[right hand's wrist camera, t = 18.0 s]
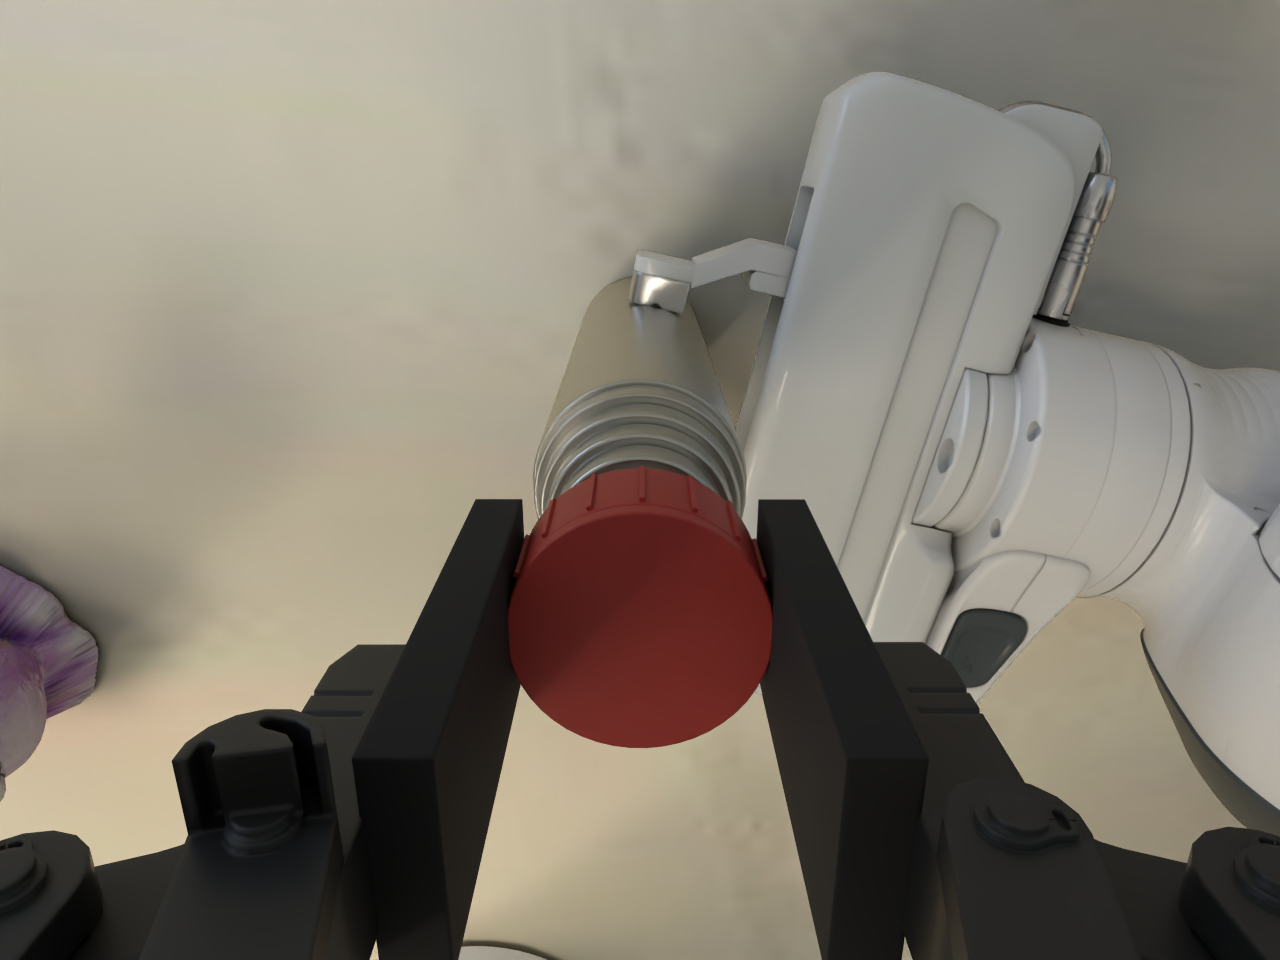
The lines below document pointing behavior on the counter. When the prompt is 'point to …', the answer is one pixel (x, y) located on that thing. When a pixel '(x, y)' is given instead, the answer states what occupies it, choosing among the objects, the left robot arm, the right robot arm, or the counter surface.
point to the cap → (640, 610)
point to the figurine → (37, 667)
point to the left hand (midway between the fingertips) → (612, 366)
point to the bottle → (639, 403)
